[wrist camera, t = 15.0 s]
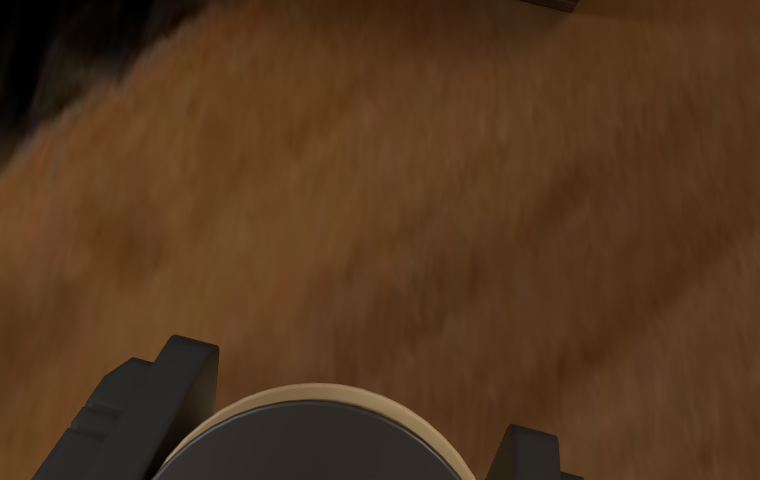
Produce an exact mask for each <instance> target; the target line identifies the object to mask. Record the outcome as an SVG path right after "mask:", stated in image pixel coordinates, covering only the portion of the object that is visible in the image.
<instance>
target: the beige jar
mask: <svg viewBox="0 0 760 480" xmlns="http://www.w3.org/2000/svg"><path fill="white" fill-rule="evenodd" d="M151 480H476V479H475V477H474V475H473V474H472V472H471V471H470V469H469V468H468V466H467V465H466V463H465V462H464V460H463V459H462V457H461V456H460V454H459V453H458V452H457V451H456V450H455V449H454V448H453V446H452V445H451V444H450V443H449V442H448V441H447V440H446V439H445V437H444V436H443V435H442V434H440V433H439V432H438V431H437V430H436V429H435V428H434V427H432V426H431V425H430V424H429V423H428V422H427V421H426V420H424V419H423V418H421V417H420V416H418V415H417V414H415V413H414V412H412V411H411V410H409V409H408V408H406V407H405V406H403V405H401V404H399V403H397V402H395V401H393V400H390V399H388V398H386V397H384V396H382V395H380V394H378V393H375V392H372V391H369V390H366V389H363V388H358V387H352V386H346V385H340V384H327V383H305V384H292V385H286V386H282V387H277V388H272V389H268V390H265V391H262V392H259V393H256V394H253V395H251V396H248V397H245V398H243V399H241V400H239V401H237V402H235V403H233V404H231V405H229V406H227V407H225V408H223V409H222V410H220V411H219V412H217V413H216V414H214V415H213V416H211V417H210V418H208V419H207V420H205V421H204V422H202V423H201V424H200V425H199V426H198V427H197V428H196V429H194V430H193V431H192V432H191V433H190V434H189V435H188V436H187V437H185V438H184V439H183V440H182V441H181V443H180V444H179V445H178V446H177V447H176V448H175V449H174V450H173V452H172V453H171V454H170V455H169V456H168V457H167V458H166V460H165V461H164V463H163V464H162V466H161V467H160V469H159V470H158V472H157V473H156V474H155V476H154V477H153V478H152V479H151Z"/></svg>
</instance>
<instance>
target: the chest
mask: <svg viewBox="0 0 760 480" xmlns="http://www.w3.org/2000/svg"><path fill="white" fill-rule="evenodd" d="M522 1H526V2H530V3H534V4H538V5H543V6H547V7H551V8H555V9H559V10H564V11H568V12H573V10H574V8H575V6H576V4H577V3H578V1H579V0H522Z"/></svg>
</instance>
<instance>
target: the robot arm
mask: <svg viewBox="0 0 760 480" xmlns="http://www.w3.org/2000/svg"><path fill="white" fill-rule="evenodd" d="M218 362H219V347H218V346H217V345H214V344H210V343H206V342H202V341H198V340H194V339H191V338H187V337H183V336H179V335H173V336H171V337H170V338H169V340H168V341H167V343H166V344H165V346H164V347H163V349H162V350H161V352H160V354H159V355H158V357H157V358H156V360H155V361H154V363H153V362H149V361H145V360H141V359H138V358H134V357H132V358H131V359H129V360H128V361H126V362H125V363H123V364H122V365H120V366H119V367H117V368H116V369H114V370H113V371H111V372H110V373H108V374H107V375H105V376H104V378H103V379H102V380H101V382H100V383H99V385H98V386H97V387H96V389H95V390H94V392H93V393H92V394H91V396H90V397H89V399H88V400H87V402H86V405H85V407H82V409H81V410H80V411H79V413H78V414H77V416H76V417H75V418H74V420H73V421H72V424H71V427H70V428H67V430H66V431H65V433H64V434H63V435H62V437H61V438H60V440H59V441H58V442H57V444H56V445H55V447H54V448H53V449H52V451H51V452H50V454H49V455H48V457H47V458H46V459H45V461H44V462H43V464H42V465H41V466H40V468H39V469H38V471H37V472H36V473H35V475H34V476H33V478H32V479H31V480H151V479H152V478H153V477H154V476H155V474H156V473H157V472H158V470H159V469H160V467H161V466H162V464H163V463H164V461H165V460H166V458H167V457H168V456H169V455H170V454H171V453H172V452H173V450H174V449H175V448H176V447H177V446H178V445H179V444H180V443H181V441H182V440H183V439H184V438H185V437H187V436H188V435H189V434H190V433H191V432H192V431H193V430H194V429H196V428H197V427H198V426H199V425H200V424H201V423H202V422H204V421H205V420H207V419H208V418H210V417H211V416H213V414H214V407H215V396H216V385H217V374H218ZM485 480H584V479H583V477H580V476H576V475H572V474H568V473H565V472H561V471H560V458H559V443H558V438H557V436H556V435H552V434H548V433H545V432H541V431H537V430H533V429H529V428H526V427H522V426H518V425H514V424H510V425H509V426H508V428H507V430H506V432H505V434H504V437H503V439H502V441H501V444H500V446H499V449H498V451H497V453H496V456H495V458H494V460H493V463H492V465H491V467H490V470H489V472H488V474H487V477H486V479H485Z"/></svg>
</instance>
